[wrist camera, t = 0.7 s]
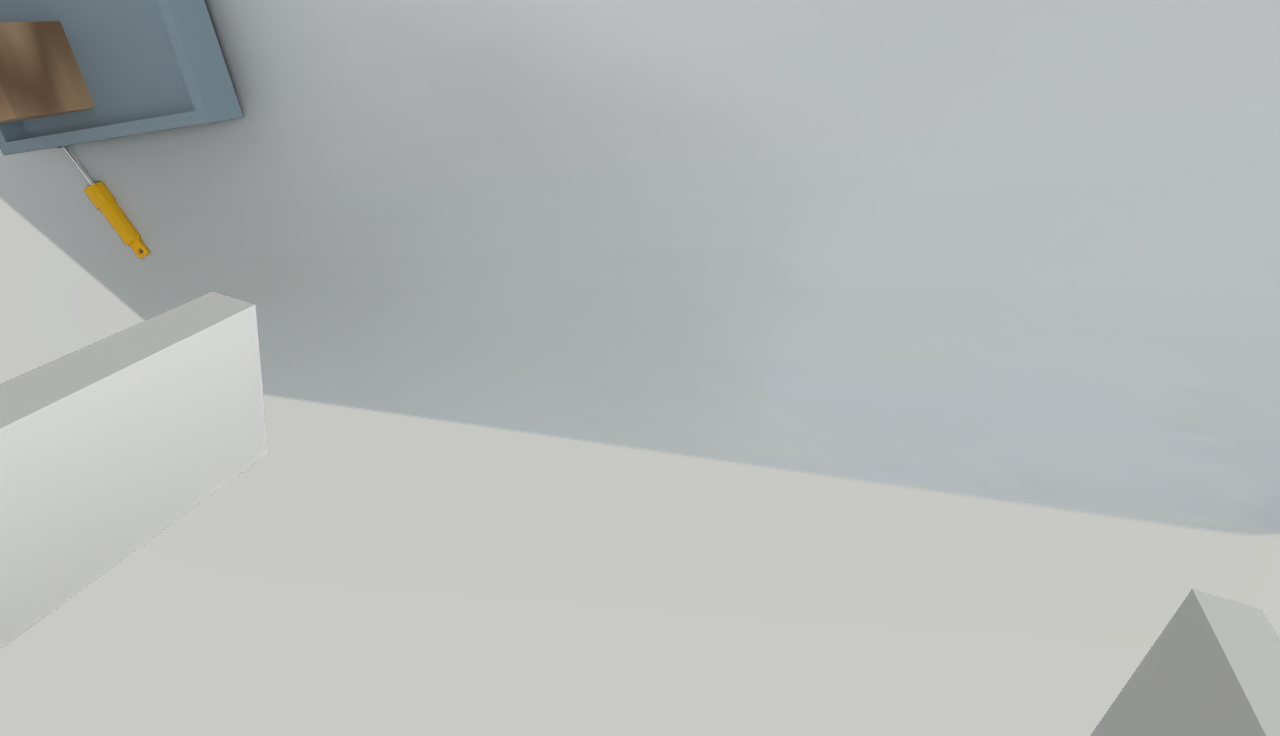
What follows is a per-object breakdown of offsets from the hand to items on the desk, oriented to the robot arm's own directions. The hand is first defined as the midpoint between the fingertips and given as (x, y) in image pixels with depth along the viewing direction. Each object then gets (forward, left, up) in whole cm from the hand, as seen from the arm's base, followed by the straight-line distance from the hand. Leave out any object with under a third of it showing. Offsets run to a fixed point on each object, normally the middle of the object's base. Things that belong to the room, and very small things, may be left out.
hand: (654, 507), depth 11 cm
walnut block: (-9, -37, -22) cm, 44 cm away
